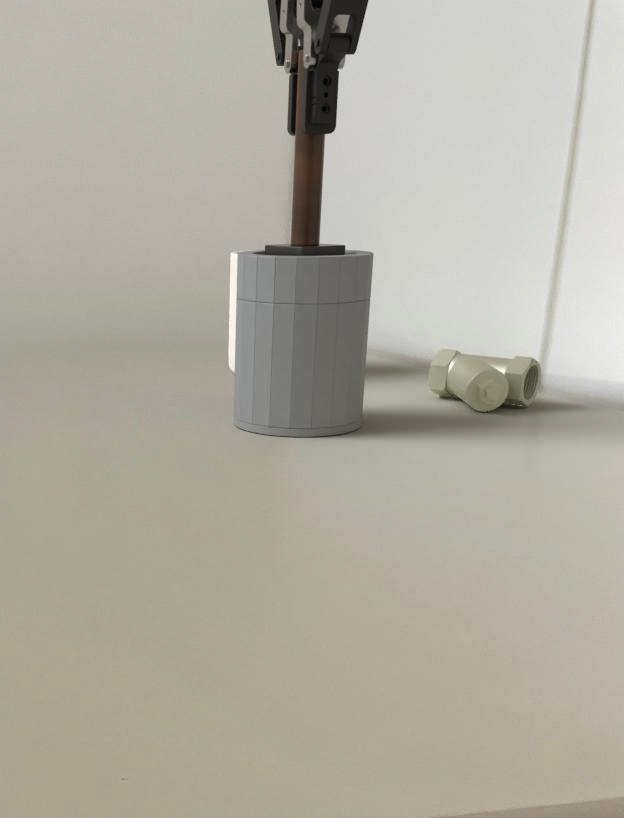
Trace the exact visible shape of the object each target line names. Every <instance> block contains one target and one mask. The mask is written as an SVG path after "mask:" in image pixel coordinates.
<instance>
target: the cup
mask: <svg viewBox="0 0 624 818" xmlns="http://www.w3.org/2000/svg"><path fill="white" fill-rule="evenodd" d="M253 250H254V251H249V250H242V251H243V252H238V255H237V297H236V339H235V374H234V383H233V384H234V385H233V387H234V388H233V389H234V390H233V425H234V426H235V427H237V428H238V429H240V430H243V431H245V432H249V433H254V434H260V435H265V436H266V435H267V436H275V437H287V438H289V437H290V438H291V437H292V438H315V437H316V438H317V437H328V436H329V437H330V436H337V435H343V434H348V433H350V432H354V431H357V430H359V428H360V427H362V418H363V410H364V395H365V381H366V366H367V352H368V340H369V339H368V337H369V326H370V323H369V322H370V312H371V311H370V310H371V309H370V308H371V294H372V283H373V282H372V281H373V269H374V267H373V266H374V256H375V255H374V252H373V251H367V250H357V249H356V250H355V249H345V255H333V256H276V255H265V249H253Z"/></svg>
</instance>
